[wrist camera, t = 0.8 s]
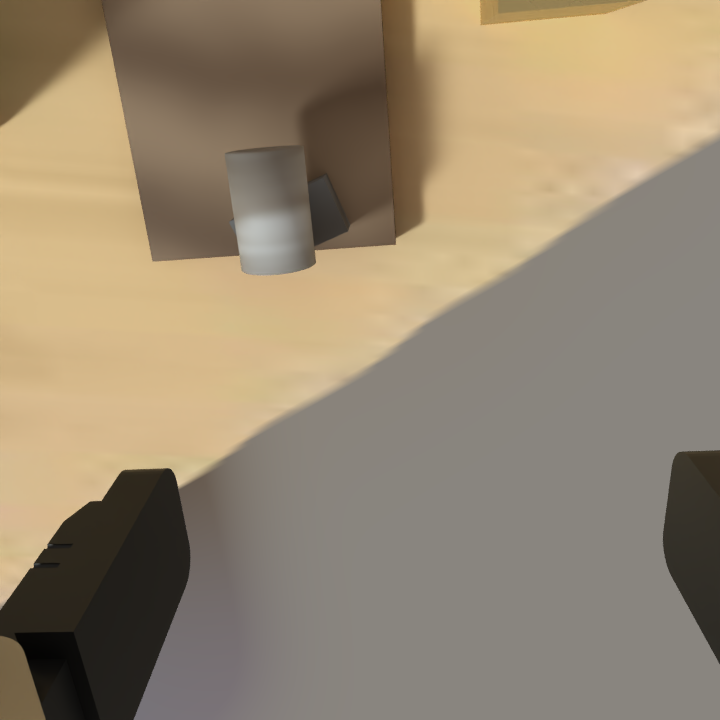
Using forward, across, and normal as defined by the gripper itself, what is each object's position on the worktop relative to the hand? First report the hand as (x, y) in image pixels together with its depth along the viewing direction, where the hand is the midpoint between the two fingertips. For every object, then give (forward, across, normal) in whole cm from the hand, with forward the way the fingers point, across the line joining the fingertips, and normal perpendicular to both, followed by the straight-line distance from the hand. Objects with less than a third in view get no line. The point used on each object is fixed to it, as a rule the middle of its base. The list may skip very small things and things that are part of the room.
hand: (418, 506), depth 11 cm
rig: (+22, +6, -7) cm, 24 cm away
